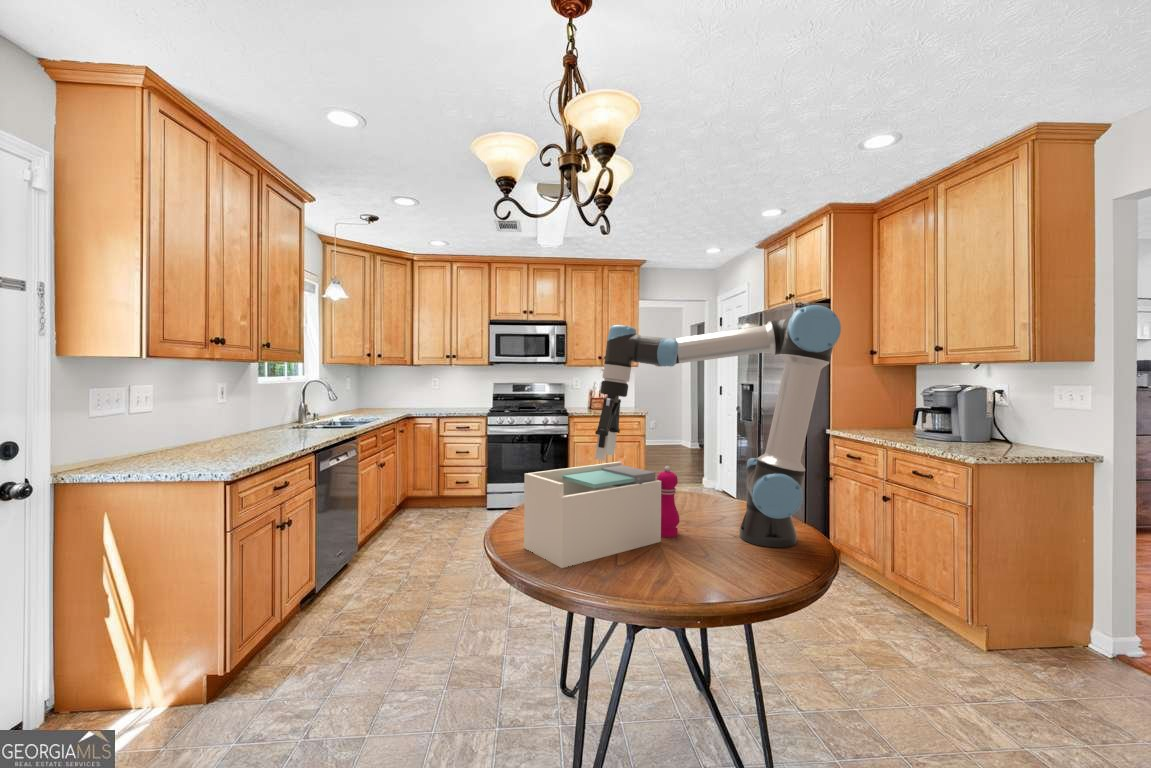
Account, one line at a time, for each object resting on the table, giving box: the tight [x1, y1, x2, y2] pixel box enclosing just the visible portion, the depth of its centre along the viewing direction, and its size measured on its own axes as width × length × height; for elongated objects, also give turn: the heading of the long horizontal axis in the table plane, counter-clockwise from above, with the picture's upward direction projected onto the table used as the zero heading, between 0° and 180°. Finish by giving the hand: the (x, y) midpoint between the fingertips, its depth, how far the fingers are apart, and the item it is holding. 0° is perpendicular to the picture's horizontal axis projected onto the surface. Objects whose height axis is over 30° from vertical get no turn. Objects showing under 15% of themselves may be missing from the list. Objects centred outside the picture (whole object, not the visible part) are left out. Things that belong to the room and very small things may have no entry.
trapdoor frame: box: [523, 461, 662, 569], centre depth 139 cm, size 19×34×20 cm, turn 127°
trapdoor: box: [563, 464, 656, 488], centre depth 142 cm, size 14×22×4 cm, turn 127°
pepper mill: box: [656, 465, 680, 538], centre depth 149 cm, size 7×7×20 cm
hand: (604, 457), depth 141 cm, fingers open, 13 cm apart
